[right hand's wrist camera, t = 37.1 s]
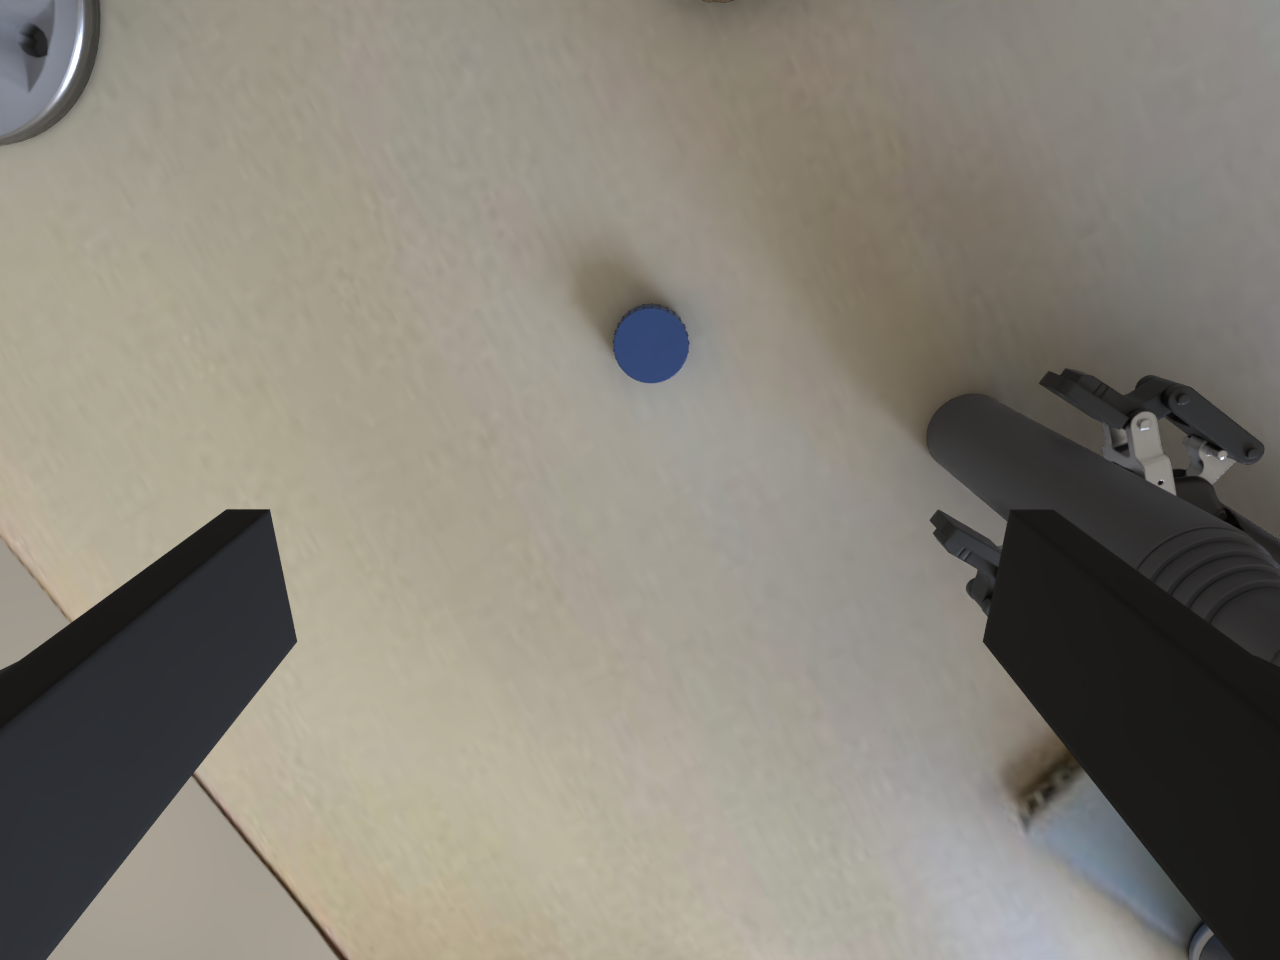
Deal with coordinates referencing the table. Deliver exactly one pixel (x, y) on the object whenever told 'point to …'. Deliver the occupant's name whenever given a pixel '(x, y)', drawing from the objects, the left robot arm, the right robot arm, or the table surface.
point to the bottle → (1115, 515)
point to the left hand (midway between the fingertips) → (992, 453)
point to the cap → (651, 343)
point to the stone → (717, 0)
